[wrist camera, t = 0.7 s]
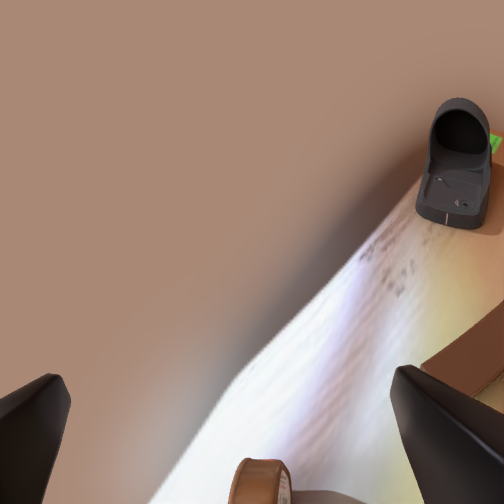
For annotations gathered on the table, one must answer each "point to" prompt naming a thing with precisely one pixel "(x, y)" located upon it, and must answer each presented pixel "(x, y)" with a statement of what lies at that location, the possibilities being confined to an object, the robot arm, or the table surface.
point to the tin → (261, 483)
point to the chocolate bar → (472, 356)
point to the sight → (457, 166)
